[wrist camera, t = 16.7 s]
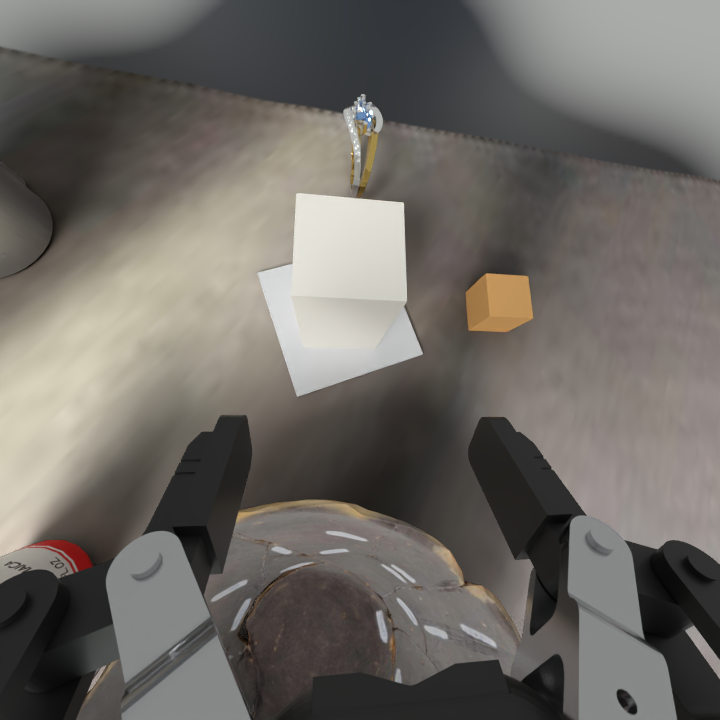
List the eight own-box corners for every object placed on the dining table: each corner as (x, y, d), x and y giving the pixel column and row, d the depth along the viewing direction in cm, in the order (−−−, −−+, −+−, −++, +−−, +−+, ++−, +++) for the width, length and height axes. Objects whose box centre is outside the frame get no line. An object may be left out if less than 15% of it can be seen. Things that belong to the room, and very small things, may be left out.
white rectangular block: (374, 349, 28) (407, 301, 17) (303, 347, 27) (290, 295, 16) (373, 284, 29) (403, 202, 19) (306, 280, 29) (296, 192, 18)
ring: (340, 155, 32) (346, 70, 25) (370, 159, 33) (385, 76, 25) (336, 212, 31) (341, 141, 23) (368, 216, 31) (383, 147, 23)
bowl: (38, 775, 20) (-238, 1113, 10) (240, 421, 26) (190, 417, 16) (389, 940, 20) (453, 1422, 10) (508, 552, 26) (618, 627, 16)
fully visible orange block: (506, 332, 30) (533, 318, 27) (468, 330, 30) (489, 316, 26) (502, 294, 31) (528, 275, 27) (465, 292, 31) (485, 273, 27)
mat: (258, 274, 28) (257, 272, 28) (377, 243, 31) (378, 241, 30) (297, 397, 27) (296, 396, 26) (421, 354, 29) (423, 353, 28)
